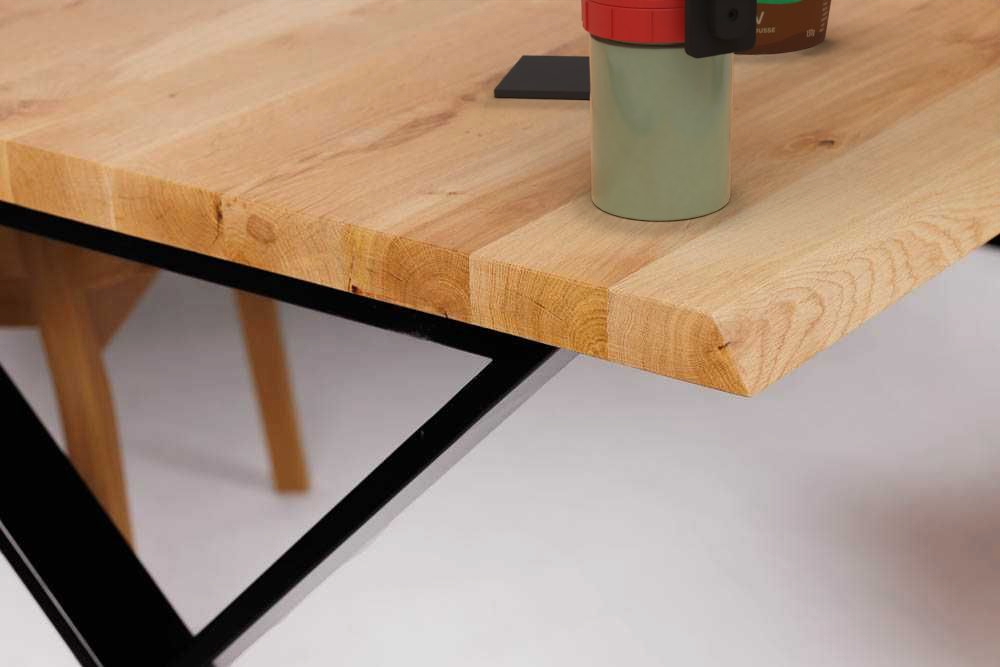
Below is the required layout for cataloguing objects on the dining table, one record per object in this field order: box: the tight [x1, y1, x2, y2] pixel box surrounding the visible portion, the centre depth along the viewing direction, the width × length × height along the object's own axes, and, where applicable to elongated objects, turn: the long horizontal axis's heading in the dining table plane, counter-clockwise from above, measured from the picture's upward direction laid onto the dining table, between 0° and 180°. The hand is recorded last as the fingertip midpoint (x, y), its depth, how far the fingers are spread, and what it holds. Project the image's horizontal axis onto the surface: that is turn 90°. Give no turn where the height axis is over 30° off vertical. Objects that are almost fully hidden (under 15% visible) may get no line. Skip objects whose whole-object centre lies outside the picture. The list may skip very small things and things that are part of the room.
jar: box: [588, 32, 735, 222], centre depth 67 cm, size 7×7×10 cm
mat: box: [493, 54, 590, 100], centre depth 88 cm, size 8×8×1 cm
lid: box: [580, 0, 685, 43], centre depth 65 cm, size 7×7×2 cm
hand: (665, 30), depth 66 cm, fingers open, 9 cm apart
